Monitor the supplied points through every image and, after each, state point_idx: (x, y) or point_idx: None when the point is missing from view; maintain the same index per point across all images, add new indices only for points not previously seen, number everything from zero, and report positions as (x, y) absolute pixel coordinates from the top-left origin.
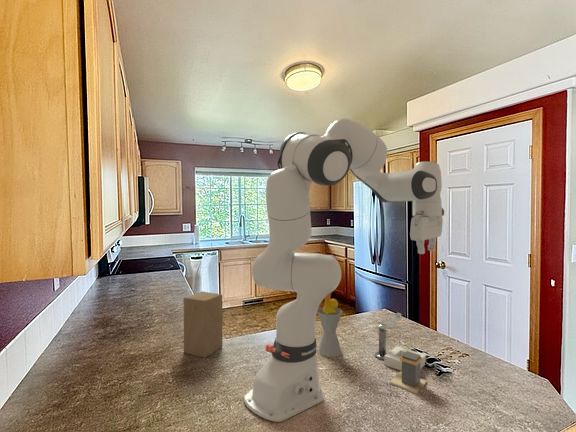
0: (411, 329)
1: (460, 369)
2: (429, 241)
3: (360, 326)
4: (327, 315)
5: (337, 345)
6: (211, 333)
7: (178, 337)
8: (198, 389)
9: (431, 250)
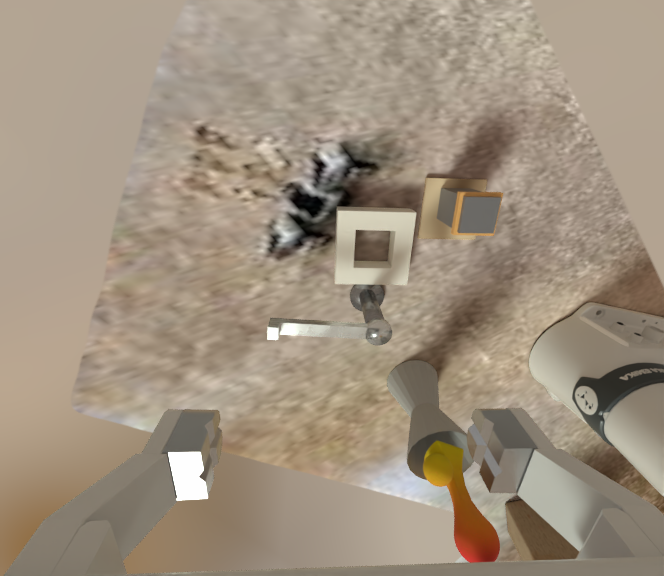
0: (149, 302)
1: (309, 126)
2: (127, 549)
3: (238, 398)
4: None
5: (420, 377)
6: (559, 534)
7: (510, 559)
8: None
9: (219, 419)
